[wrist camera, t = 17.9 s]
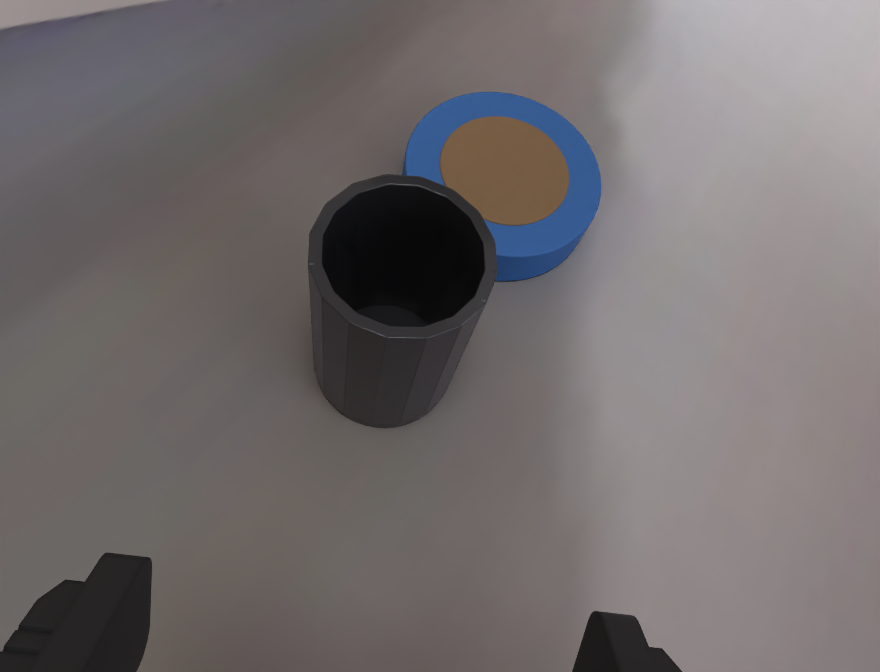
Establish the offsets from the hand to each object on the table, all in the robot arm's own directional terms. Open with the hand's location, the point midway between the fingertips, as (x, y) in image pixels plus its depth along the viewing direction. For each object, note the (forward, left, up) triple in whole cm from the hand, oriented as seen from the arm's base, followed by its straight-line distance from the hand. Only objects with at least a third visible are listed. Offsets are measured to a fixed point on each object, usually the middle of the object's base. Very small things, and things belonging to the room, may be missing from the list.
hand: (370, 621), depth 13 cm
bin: (-6, -10, -16) cm, 20 cm away
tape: (-15, -17, -16) cm, 28 cm away
